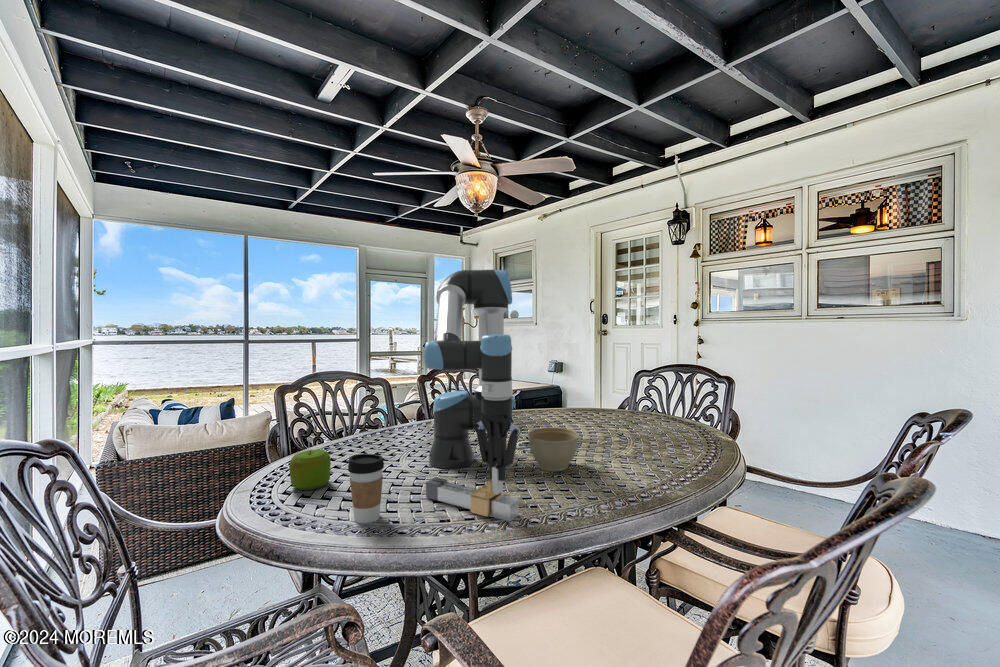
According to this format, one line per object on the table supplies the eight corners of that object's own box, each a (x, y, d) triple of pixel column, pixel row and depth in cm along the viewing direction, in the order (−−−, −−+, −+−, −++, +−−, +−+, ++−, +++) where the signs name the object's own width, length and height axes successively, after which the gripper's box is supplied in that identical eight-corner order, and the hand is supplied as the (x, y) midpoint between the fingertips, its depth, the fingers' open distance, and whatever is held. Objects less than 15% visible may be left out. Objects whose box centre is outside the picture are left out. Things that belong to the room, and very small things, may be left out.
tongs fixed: (518, 514, 109) (518, 496, 109) (510, 521, 105) (509, 502, 105) (436, 493, 122) (436, 477, 122) (426, 498, 119) (425, 482, 118)
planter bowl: (521, 472, 139) (521, 437, 138) (536, 456, 153) (536, 425, 153) (572, 479, 132) (572, 443, 132) (583, 462, 147) (583, 430, 147)
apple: (322, 476, 136) (321, 441, 136) (337, 485, 128) (337, 448, 128) (284, 486, 128) (283, 449, 128) (298, 497, 121) (297, 457, 120)
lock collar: (502, 506, 113) (502, 476, 112) (487, 516, 107) (487, 485, 107) (485, 502, 115) (485, 472, 115) (470, 512, 109) (470, 481, 109)
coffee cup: (353, 511, 111) (352, 452, 111) (387, 509, 112) (386, 451, 112) (344, 526, 103) (343, 463, 103) (381, 525, 104) (380, 462, 103)
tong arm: (489, 505, 113) (489, 489, 113) (485, 508, 112) (485, 491, 111) (435, 492, 122) (435, 477, 122) (431, 494, 121) (431, 479, 120)
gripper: (466, 397, 108) (467, 492, 109) (512, 402, 102) (513, 503, 103) (483, 392, 115) (483, 482, 116) (527, 397, 108) (528, 492, 109)
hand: (497, 492), depth 109 cm, fingers closed
